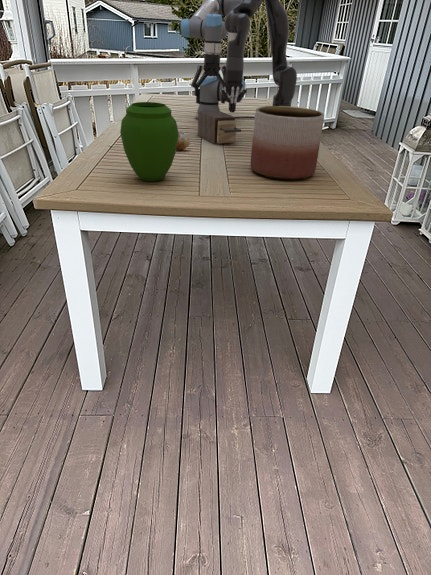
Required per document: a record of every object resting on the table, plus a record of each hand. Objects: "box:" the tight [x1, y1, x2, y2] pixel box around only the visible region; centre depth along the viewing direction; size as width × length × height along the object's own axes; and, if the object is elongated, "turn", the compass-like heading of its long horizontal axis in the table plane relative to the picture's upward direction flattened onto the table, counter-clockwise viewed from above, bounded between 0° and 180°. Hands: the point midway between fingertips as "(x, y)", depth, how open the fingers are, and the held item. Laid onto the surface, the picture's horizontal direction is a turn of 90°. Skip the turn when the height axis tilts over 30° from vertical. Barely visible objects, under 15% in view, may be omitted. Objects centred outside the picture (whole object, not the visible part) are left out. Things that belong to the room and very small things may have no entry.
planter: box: [249, 105, 325, 181], centre depth 155 cm, size 25×25×22 cm
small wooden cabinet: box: [197, 109, 236, 145], centre depth 202 cm, size 20×10×12 cm, turn 25°
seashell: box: [176, 130, 191, 151], centre depth 180 cm, size 10×6×8 cm, turn 97°
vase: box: [119, 101, 179, 182], centre depth 140 cm, size 20×20×24 cm
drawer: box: [216, 119, 242, 144], centre depth 197 cm, size 25×9×10 cm, turn 25°
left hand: (210, 103), depth 202 cm, fingers open, 13 cm apart
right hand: (231, 112), depth 184 cm, fingers closed
